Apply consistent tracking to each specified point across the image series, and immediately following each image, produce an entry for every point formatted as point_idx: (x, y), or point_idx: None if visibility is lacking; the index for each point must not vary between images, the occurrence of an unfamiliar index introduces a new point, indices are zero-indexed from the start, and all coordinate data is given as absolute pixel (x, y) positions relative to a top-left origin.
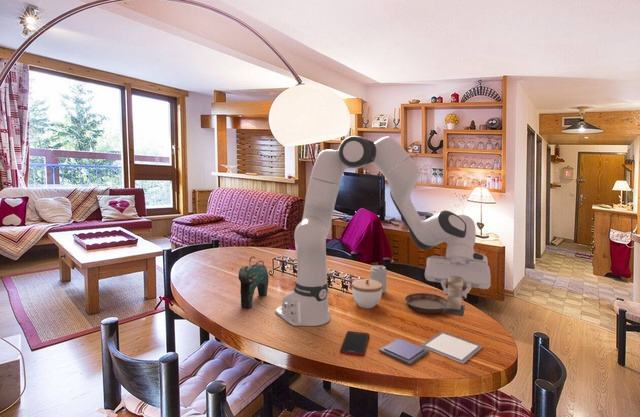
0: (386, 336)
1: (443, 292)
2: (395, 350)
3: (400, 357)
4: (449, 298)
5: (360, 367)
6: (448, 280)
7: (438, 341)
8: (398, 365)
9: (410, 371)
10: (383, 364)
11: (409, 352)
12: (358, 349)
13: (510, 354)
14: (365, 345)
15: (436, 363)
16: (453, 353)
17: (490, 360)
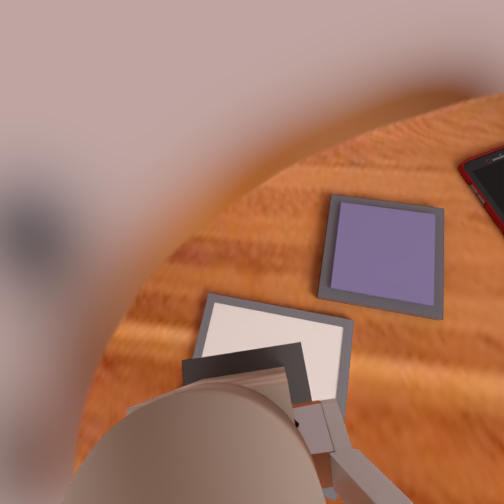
0: (490, 321)
1: (333, 398)
2: (397, 222)
3: (366, 204)
4: (268, 373)
5: (425, 121)
6: (302, 447)
7: (314, 388)
8: (354, 181)
9: (316, 175)
10: (388, 163)
11: (357, 236)
12: (492, 176)
13: (81, 456)
14: (494, 208)
15: (274, 250)
16: (245, 329)
17: (140, 365)
